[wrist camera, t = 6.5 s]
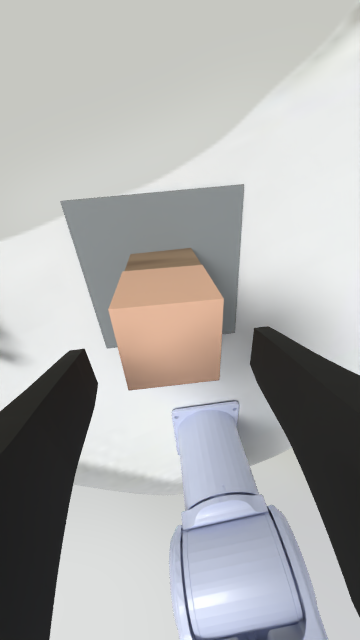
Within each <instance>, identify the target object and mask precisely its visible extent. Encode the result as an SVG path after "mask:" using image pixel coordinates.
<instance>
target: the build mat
mask: <svg viewBox="0 0 360 640" xmlns="http://www.w3.org/2000/svg"><path fill="white" fill-rule="evenodd" d="M243 193H244V184H242V185H231V186H220V187H209V188H198V189H187V190H176V191H165V192H154V193H143V194H132V195H121V196H110V197H99V198H89V199H78V200H67V201H61V205H62V208H63V212H64V215H65V218H66V221H67V224H68V227H69V230H70V234H71V237H72V240H73V243H74V246H75V249H76V253H77V256H78V259H79V262H80V265H81V268H82V271H83V275H84V278H85V281H86V284H87V287H88V290H89V294H90V297H91V300H92V303H93V306H94V309H95V312H96V316H97V319H98V322H99V325H100V328H101V331H102V335H103V338H104V341H105V344H106V347H107V348H115V347H118V346H117V342H116V338H115V334H114V330H113V326H112V322H111V318H110V314H109V310H108V309H109V306H110V304H111V301H112V298H113V296H114V293H115V290H116V288H117V285H118V282H119V280H120V277H121V274H122V272H123V271H125V268H126V265H127V262H128V260H129V257H130V254H136V253H146V252H156V251H165V250H175V249H184V248H192V250H193V252H194V253H195V255H196V257H197V258H198V260H199V261H200V263H201V265H203V266H204V268H205V270H206V271H207V273H208V274H209V276H210V278H211V279H212V281H213V282H214V284H215V285H216V287H217V289H218V290H219V292H220V293H221V295H222V297H223V298H224V305H223V323H222V334H229V333H235V320H236V304H237V288H238V272H239V256H240V240H241V225H242V209H243Z"/></svg>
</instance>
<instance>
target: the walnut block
mask: <svg viewBox="0 0 360 640" xmlns="http://www.w3.org/2000/svg"><path fill="white" fill-rule="evenodd" d="M193 265H201V263H200V261H199V260H198V258H197V257H196V255H195V253H194V252H193V250H192V248H184V249H175V250H165V251H156V252H146V253H136V254H130V257H129V260H128V262H127V265H126V268H125V271H133V270H145V269H157V268H169V267H181V266H193Z"/></svg>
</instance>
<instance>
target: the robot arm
mask: <svg viewBox="0 0 360 640" xmlns="http://www.w3.org/2000/svg"><path fill="white" fill-rule="evenodd" d="M250 365H251V368H252V370H253V373H254V376H255V378H256V381H257V383H258V385H259V387H260V389H261V391H262V393H263V394H264V396H265V398H266V400H267V402H268V403H269V405H270V407H271V409H272V411H273V412H274V414H275V416H276V418H277V420H278V421H279V423H280V425H281V427H282V429H283V430H284V432H285V434H286V436H287V438H288V440H289V442H290V444H291V446H292V448H293V450H294V453H295V455H296V457H297V459H298V462H299V464H300V466H301V468H302V471H303V473H304V475H305V478H306V481H307V483H308V485H309V488H310V490H311V493H312V495H313V497H314V500H315V502H316V505H317V507H318V510H319V512H320V515H321V517H322V520H323V523H324V525H325V528H326V530H327V533H328V535H329V538H330V541H331V544H332V546H333V549H334V552H335V554H336V557H337V560H338V563H339V565H340V568H341V571H342V574H343V576H344V579H345V582H346V585H347V588H348V591H349V594H350V597H351V600H352V602H353V604H354V606H355V608H356V610H357V612H358V615H359V617H360V375H358V374H355V373H353V372H351V371H349V370H347V369H345V368H343V367H341V366H339V365H337V364H335V363H333V362H331V361H329V360H327V359H325V358H323V357H322V356H320V355H318V354H316V353H314V352H312V351H311V350H309V349H307V348H305V347H304V346H302V345H300V344H298V343H297V342H295V341H293V340H292V339H290V338H288V337H286V336H285V335H283V334H281V333H279V332H278V331H276V330H274V329H272V328H270V327H268V326H267V327H259V328H254V334H253V343H252V352H251V360H250ZM97 387H98V382H97V380H96V377H95V375H94V372H93V369H92V367H91V364H90V361H89V359H88V356H87V354H86V351H85V349H79V350H71V351H69V352H67V353H66V354H65V355H64V356H63V357H62V358H60V359H59V360H58V361H57V362H56V363H55V364H54V365H53V366H52V367H51V368H49V369H48V370H47V371H46V372H45V373H44V374H43V375H42V376H41V377H40V378H38V379H37V380H36V381H35V382H34V383H33V384H32V385H31V386H30V387H29V388H27V389H26V390H25V391H24V392H23V393H22V394H20V395H19V396H18V397H17V398H16V399H14V400H13V401H12V402H11V403H10V404H8V405H7V406H6V407H5V408H4V409H3V410H1V411H0V640H49V637H50V629H51V621H52V613H53V605H54V597H55V589H56V582H57V575H58V568H59V562H60V554H61V549H62V542H63V536H64V530H65V525H66V519H67V513H68V508H69V502H70V497H71V492H72V487H73V482H74V477H75V473H76V469H77V465H78V461H79V458H80V455H81V451H82V448H83V444H84V441H85V438H86V434H87V431H88V428H89V424H90V421H91V417H92V414H93V410H94V406H95V401H96V394H97ZM238 411H239V404H238V402H236V401H233V402H225V403H218V404H211V405H204V406H196V407H189V408H182V409H175V410H173V411H172V419H173V425H174V432H175V438H176V445H177V451H178V455H180V460H181V470H182V480H183V491H184V501H185V511H183V512H182V513H181V514H182V525H178V526H177V527H176V529H175V532H174V534H173V536H172V539H171V543H170V556H169V564H170V566H169V567H170V585H171V597H172V605H173V611H174V617H175V622H176V626H177V629H178V631H179V639H180V640H328V637H327V635H326V632H325V629H324V626H323V623H322V620H321V617H320V614H319V611H318V608H317V602H316V597H315V593H314V590H313V586H312V583H311V580H310V577H309V573H308V571H307V568H306V565H305V562H304V559H303V557H302V554H301V551H300V549H299V546H298V544H297V541H296V539H295V536H294V534H293V532H292V530H291V528H290V526H289V524H288V521H287V520H286V518H285V516H284V515H283V513H282V512H281V511H279V510H278V509H276V507H275V506H274V505H270V506H266V503H265V500H264V498H263V495H262V494H260V495H259V492H258V489H257V486H256V483H255V481H254V478H253V475H252V472H251V469H250V466H249V463H248V460H247V457H246V454H245V451H244V449H243V446H242V443H241V440H240V437H239V434H238V431H237V421H238Z"/></svg>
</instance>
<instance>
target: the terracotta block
mask: <svg viewBox="0 0 360 640" xmlns="http://www.w3.org/2000/svg"><path fill="white" fill-rule="evenodd" d="M223 305H224V298H223V297H222V295H221V293H220V292H219V290H218V289H217V287H216V285H215V284H214V282H213V281H212V279H211V278H210V276H209V274H208V273H207V271H206V270H205V268H204V266H203V265H193V266H181V267H169V268H157V269H145V270H133V271H123V272H122V274H121V277H120V280H119V282H118V285H117V288H116V290H115V293H114V296H113V298H112V301H111V304H110V306H109V309H108V310H109V314H110V318H111V322H112V326H113V330H114V334H115V338H116V342H117V346H118V350H119V354H120V358H121V362H122V366H123V370H124V374H125V378H126V382H127V386H128V390H137V389H146V388H155V387H163V386H172V385H181V384H189V383H198V382H207V381H216V380H219V377H220V359H221V341H222V323H223Z"/></svg>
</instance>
